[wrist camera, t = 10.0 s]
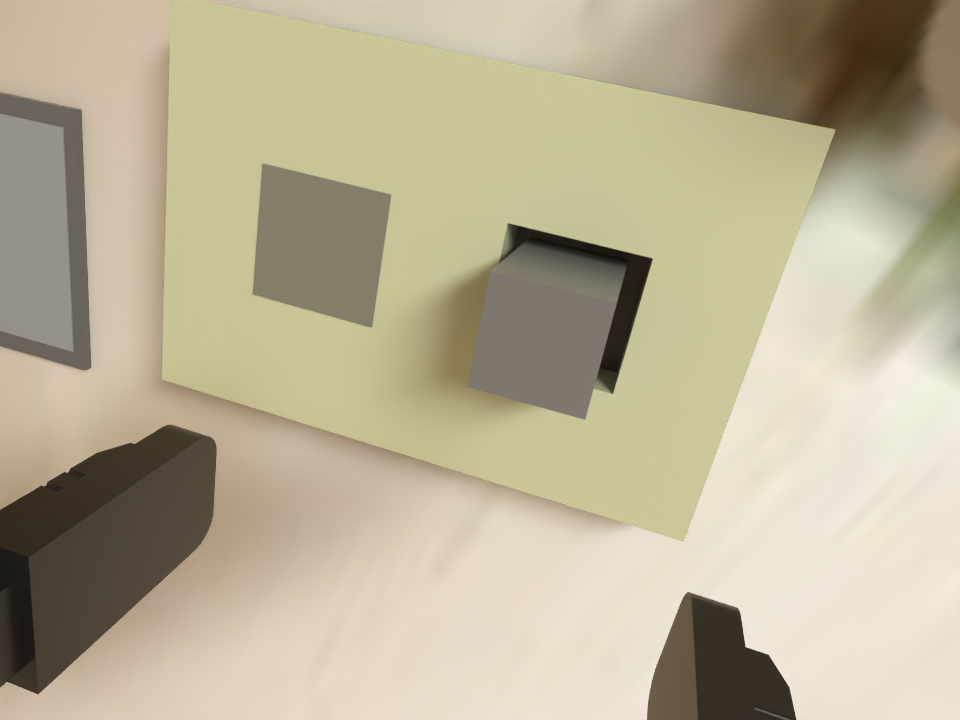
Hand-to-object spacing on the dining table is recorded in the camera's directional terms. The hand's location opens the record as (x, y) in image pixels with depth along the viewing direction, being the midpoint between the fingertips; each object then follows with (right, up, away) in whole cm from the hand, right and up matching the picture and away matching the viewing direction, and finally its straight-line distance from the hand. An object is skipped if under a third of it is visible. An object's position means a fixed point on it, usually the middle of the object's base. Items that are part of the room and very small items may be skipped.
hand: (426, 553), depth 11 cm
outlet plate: (0, +7, +18) cm, 20 cm away
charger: (+4, +6, +17) cm, 18 cm away
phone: (-22, +10, +24) cm, 34 cm away
